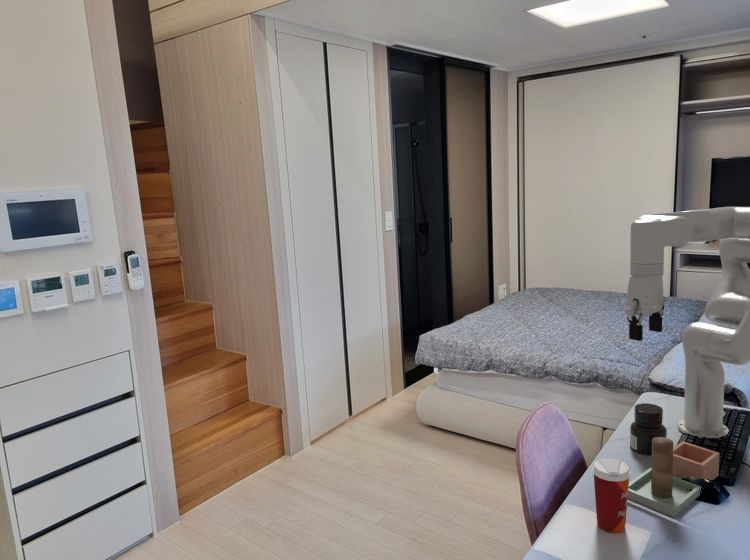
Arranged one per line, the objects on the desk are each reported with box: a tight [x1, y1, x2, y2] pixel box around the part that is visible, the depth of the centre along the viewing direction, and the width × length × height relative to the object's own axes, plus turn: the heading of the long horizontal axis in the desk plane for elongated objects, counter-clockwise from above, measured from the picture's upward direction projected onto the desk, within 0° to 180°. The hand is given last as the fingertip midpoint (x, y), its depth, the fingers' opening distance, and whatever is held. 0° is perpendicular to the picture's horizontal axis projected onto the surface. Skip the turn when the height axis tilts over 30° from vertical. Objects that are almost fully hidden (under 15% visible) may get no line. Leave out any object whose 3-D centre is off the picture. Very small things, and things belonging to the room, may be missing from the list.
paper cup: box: [591, 458, 632, 534], centre depth 122 cm, size 8×8×14 cm
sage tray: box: [627, 467, 702, 520], centre depth 132 cm, size 13×12×2 cm
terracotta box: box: [673, 441, 720, 481], centre depth 138 cm, size 9×9×6 cm
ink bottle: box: [629, 402, 668, 457], centre depth 152 cm, size 10×9×12 cm
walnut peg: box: [651, 437, 674, 499], centre depth 131 cm, size 4×4×13 cm
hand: (645, 335), depth 144 cm, fingers open, 9 cm apart
